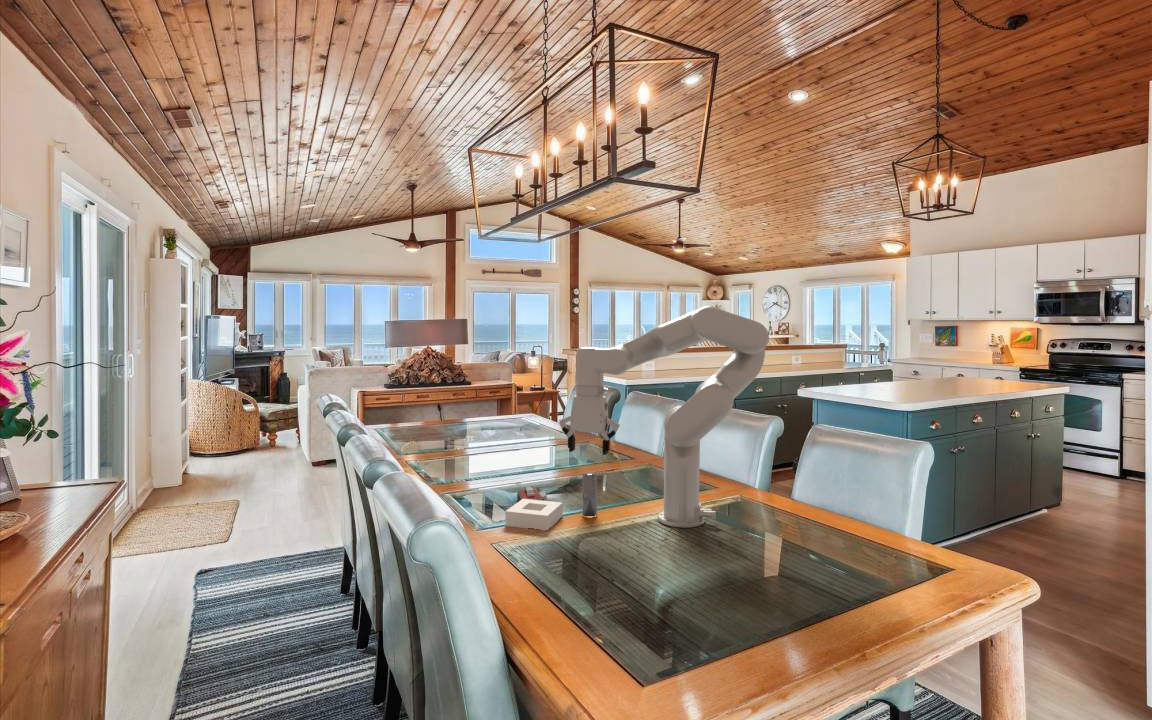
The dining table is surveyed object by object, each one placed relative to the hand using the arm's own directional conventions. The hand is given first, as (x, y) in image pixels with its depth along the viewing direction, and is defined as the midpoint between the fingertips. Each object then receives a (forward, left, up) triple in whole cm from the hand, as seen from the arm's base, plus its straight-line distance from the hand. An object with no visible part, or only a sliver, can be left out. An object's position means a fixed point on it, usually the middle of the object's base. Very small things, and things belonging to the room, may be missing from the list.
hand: (588, 452), depth 167 cm
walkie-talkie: (+21, -9, -19) cm, 29 cm away
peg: (0, 0, -18) cm, 18 cm away
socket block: (+13, +9, -18) cm, 24 cm away
